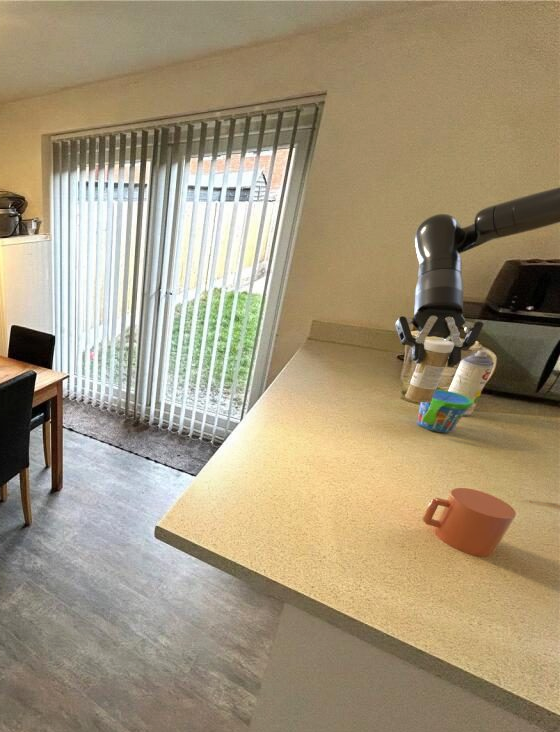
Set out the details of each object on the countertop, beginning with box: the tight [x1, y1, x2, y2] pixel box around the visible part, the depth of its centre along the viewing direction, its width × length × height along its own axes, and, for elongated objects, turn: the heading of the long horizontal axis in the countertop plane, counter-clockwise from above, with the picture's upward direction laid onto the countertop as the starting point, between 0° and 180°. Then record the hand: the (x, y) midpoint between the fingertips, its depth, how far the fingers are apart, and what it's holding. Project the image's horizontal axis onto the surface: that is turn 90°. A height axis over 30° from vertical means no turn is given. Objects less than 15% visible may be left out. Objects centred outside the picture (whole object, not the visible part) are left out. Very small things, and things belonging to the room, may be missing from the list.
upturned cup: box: [422, 487, 517, 557], centre depth 75 cm, size 11×8×9 cm
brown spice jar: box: [404, 338, 454, 403], centre depth 84 cm, size 5×5×13 cm
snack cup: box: [417, 388, 473, 434], centre depth 113 cm, size 16×10×10 cm
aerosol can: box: [447, 349, 495, 417], centre depth 119 cm, size 7×7×20 cm
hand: (435, 363), depth 81 cm, fingers closed on brown spice jar, 4 cm apart
